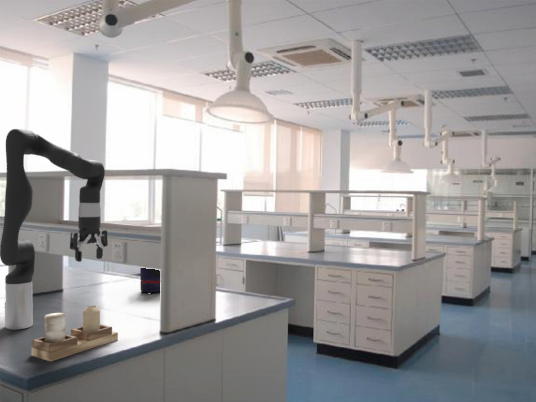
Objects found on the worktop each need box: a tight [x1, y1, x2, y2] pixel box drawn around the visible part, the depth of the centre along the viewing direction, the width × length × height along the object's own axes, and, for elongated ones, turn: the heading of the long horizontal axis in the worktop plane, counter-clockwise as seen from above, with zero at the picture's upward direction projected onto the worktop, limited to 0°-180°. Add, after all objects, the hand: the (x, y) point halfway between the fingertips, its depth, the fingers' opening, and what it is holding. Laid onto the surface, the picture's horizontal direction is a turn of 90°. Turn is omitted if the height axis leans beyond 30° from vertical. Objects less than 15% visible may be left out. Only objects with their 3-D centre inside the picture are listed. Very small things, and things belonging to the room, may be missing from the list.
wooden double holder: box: [31, 312, 119, 362], centre depth 164 cm, size 10×26×12 cm, turn 148°
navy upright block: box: [139, 268, 161, 294], centre depth 254 cm, size 14×12×30 cm
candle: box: [82, 305, 101, 332], centre depth 170 cm, size 6×6×10 cm
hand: (89, 260), depth 178 cm, fingers open, 8 cm apart
